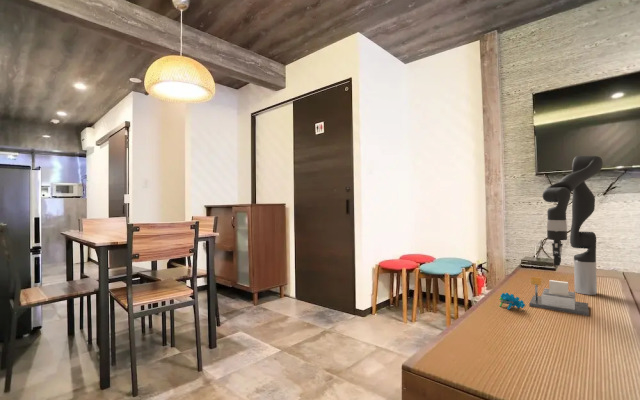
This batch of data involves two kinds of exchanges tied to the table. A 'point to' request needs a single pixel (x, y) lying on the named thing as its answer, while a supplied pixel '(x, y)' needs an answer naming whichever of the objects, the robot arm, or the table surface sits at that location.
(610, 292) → the table surface
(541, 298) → the rack
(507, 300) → the blue bumpy plastic figure
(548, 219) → the robot arm
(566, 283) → the block
